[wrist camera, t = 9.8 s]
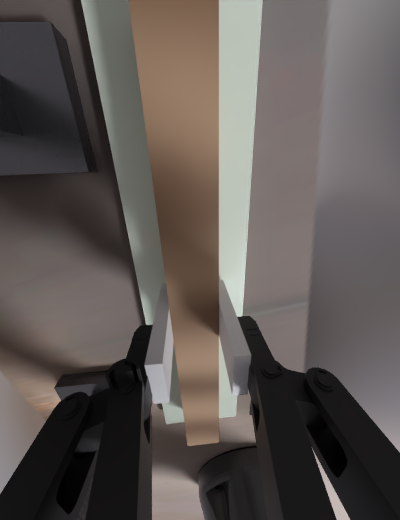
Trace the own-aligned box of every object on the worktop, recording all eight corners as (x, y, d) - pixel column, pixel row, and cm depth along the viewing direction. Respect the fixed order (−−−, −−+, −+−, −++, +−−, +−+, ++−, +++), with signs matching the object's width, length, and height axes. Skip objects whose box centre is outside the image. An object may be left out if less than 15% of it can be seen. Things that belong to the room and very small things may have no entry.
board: (233, 404, 23) (235, 416, 22) (166, 412, 23) (166, 424, 21) (255, -19, 9) (265, -45, 8) (85, -21, 9) (71, -49, 8)
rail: (214, 407, 21) (218, 442, 18) (187, 410, 21) (187, 446, 18) (207, 16, 9) (218, -57, 6) (141, 16, 8) (120, -60, 6)
